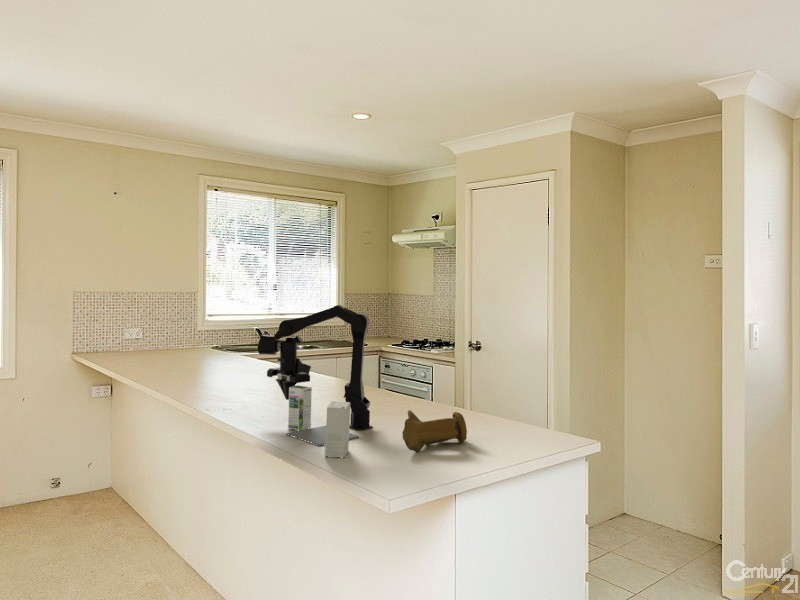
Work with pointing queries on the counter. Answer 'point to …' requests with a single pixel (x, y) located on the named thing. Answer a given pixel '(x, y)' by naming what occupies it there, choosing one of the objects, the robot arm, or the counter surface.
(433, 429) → the brown flanged cylinder
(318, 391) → the counter surface
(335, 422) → the skincare box
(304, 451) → the counter surface
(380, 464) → the counter surface
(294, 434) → the mat
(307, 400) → the syrup box
